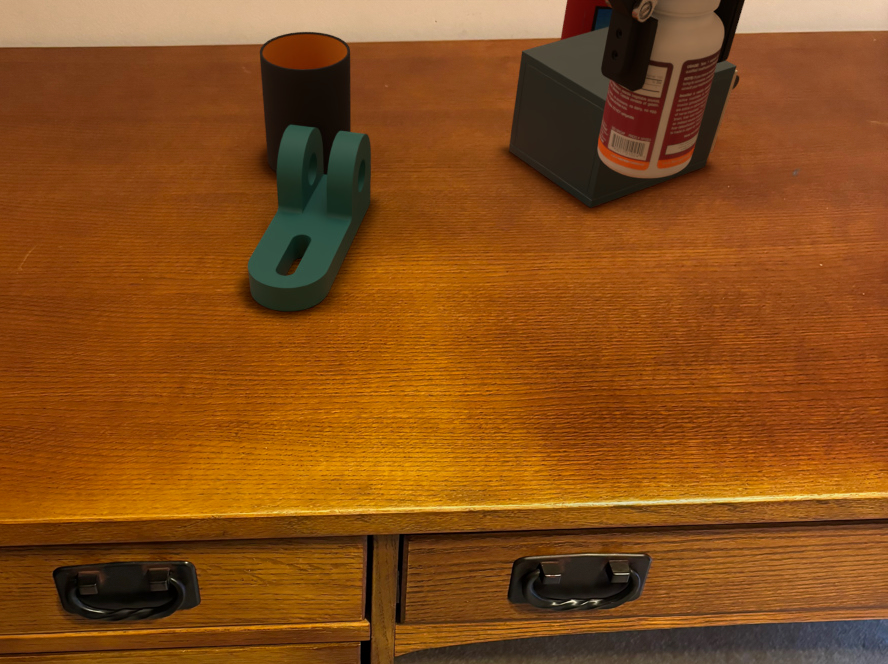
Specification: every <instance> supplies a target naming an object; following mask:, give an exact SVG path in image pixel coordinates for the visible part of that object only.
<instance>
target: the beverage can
mask: <svg viewBox="0 0 888 664" xmlns="http://www.w3.org/2000/svg"><path fill="white" fill-rule="evenodd" d="M611 13H612V8H611V7H609V6H607V5H606V3H605V0H566V4H565V10H564V16H563V22H562V29H561V35H560V40H563V39H567V38H570V37H574V36H577V35H581V34H585V33H588V32H592V31H595V30H599V29H603V28H606V27H609V24H610V19H611Z"/></svg>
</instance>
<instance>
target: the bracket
mask: <svg viewBox="0 0 888 664" xmlns="http://www.w3.org/2000/svg"><path fill="white" fill-rule="evenodd" d="M371 172H372V146H371V138H370V136H369V134H368V133H362V132H355V131H354V132H353V131H351V132H347V131H339V132H338V133H337V135H336V137H335V139H334V142H333V145H332V149H331V153H330V158H329V164H328V172H327V175H325V174H324V168H323V143H322V137H321V133H320V131H319V129H318V128H314V127H306V126H297V125H289V126H288V127H287V128H286V130H285V132H284V134H283V137H282V140H281V144H280V148H279V153H278V161H277V173H276V193H277V205H278V207H277V211H276V213H275V214H274V216H273V218H272V220H271V221H270V223H269V225H268V226H267V228H266V230H265V232H264V233H263V235H262V237H261V239H260V240H259V242H258V243H257V246H256V247H255V249H254V250H253V252H252V253H251V255H250V257H249V259H248V262H247V271H248V280H249V282H248V283H249V292H250V295H251V296H252V298H253V300H255V302H256V303H258V304H259V305H260V306H262V307H264V308H267V309H270V310H274V311H279V312H297V311H304V310H306V309H310V308H312V307H315V306H316V305H318V304H320V303H321V302H322V301H324V300H325V299H326V298H327V296H328V294H329V293H330V291H331V288H332V287H333V284H334V282H335V280H336V278H337V275H338V273H339V271H340V269H341V267H342V265H343V262H344V261H345V259H346V256H347V254H348V252H349V250H350V247H351V246H352V244H353V241H354V239H355V237H356V235H357V233H358V230H359V228H360V226H361V224H362V222H363V220H364V218H365V217H366V216H365V215H366V214H367V212H368V209H369V207H370V205H371V193H372V192H371V185H372V184H371V183H372V182H371V181H372V173H371ZM298 259H300V262H299V264H298V266H297V267H296V269H295V271H294V272H293V273H292V274H288V273H289V271H290V270H291V267H292V265H293V264H294V262H295V261H296V260H298Z"/></svg>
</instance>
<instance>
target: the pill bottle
mask: <svg viewBox="0 0 888 664" xmlns="http://www.w3.org/2000/svg"><path fill="white" fill-rule="evenodd" d="M719 3H720V0H658V2H657V4H656V6H655V8H654V10H653V13H652V14H651V17H653V18H655V19H657V20H658V27H657V31H656V36H655V40H654V45H653V49H652V53H651V58H650V62H649V66H648V71H647V75H646V79H645V83H644V85H643V87H642V88H641V89H640V90H637V91H633V92H632V91H630V90H628V89H626V88H625V87H623V86H621V85H619V84H617V83H616V82H614V81H612V80H610V82H609V87H608V93H607V98H606V103H605V108H604V113H603V119H602V124H601V129H600V134H599V139H598V154H599V157H600V159H601V160H602V161H603V163H604V164H605V165H607V166H608V167H609V168H611V169H612V170H614V171H616V172H618V173H621V174H623V175H626V176H630V177H635V178H660V177H665V176H669V175H673V174H675V173H677V172H679V171H681V170H682V169H684V168H685V167H686V166H687V165H688V163H689V162H690V160H691V157H692V154H693V151H694V147H695V144H696V139H697V136H698V132H699V128H700V125H701V121H702V117H703V113H704V110H705V106H706V102H707V98H708V95H709V91H710V87H711V84H712V80H713V76H714V73H715V69H716V65H717V62H718V58H719V54H720V51H721V47H722V43H723V39H724V26H723V23H722V21H721V19H720V18H719V17H718V16H717V15H716V14H715V13H714V12H713V11H714V10H716V9H717V8H718V6H719Z"/></svg>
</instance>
